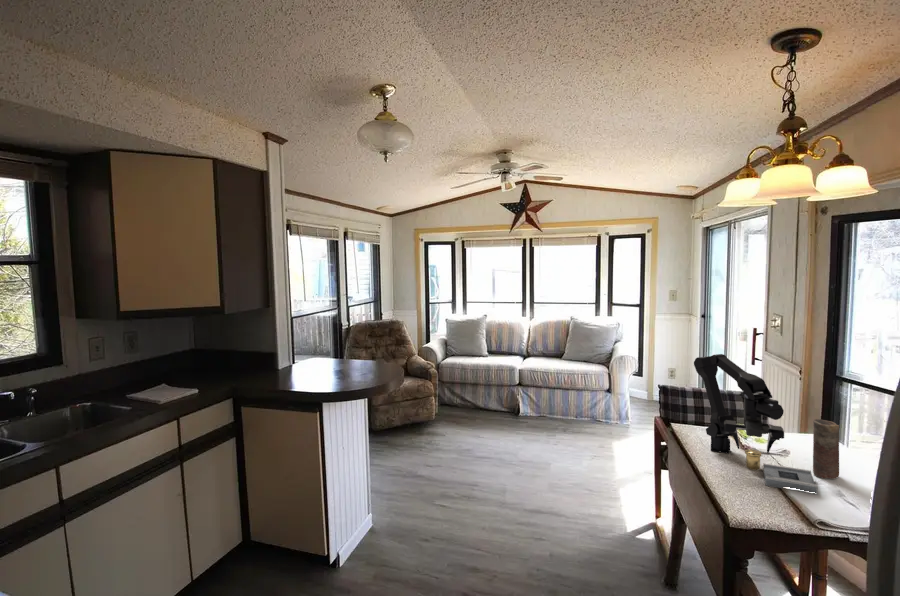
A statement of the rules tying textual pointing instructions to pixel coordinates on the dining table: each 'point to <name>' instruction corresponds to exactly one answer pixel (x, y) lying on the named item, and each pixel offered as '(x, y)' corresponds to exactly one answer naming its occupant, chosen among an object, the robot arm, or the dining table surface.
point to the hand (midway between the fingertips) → (752, 450)
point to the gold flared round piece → (753, 459)
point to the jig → (788, 477)
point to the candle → (825, 449)
